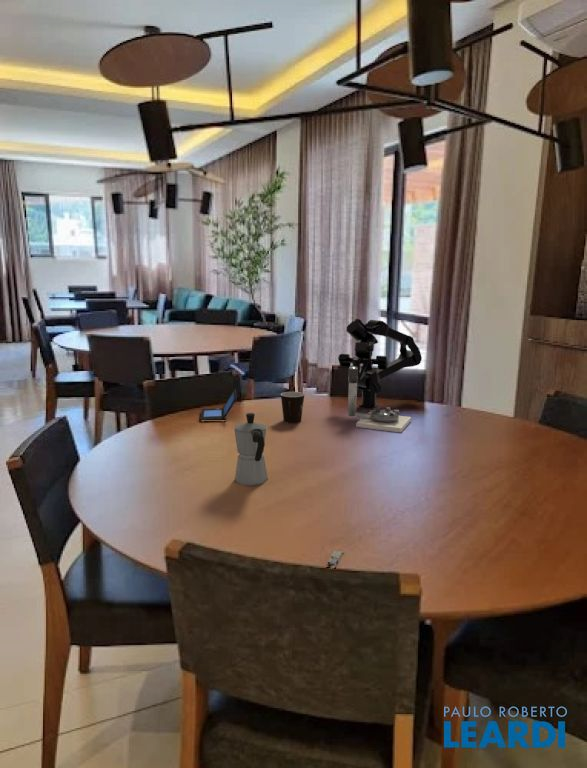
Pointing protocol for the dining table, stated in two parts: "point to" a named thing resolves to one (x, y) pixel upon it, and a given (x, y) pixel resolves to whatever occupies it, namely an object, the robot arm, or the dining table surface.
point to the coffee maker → (250, 452)
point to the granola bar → (334, 558)
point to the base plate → (384, 424)
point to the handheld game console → (219, 410)
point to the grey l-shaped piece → (374, 414)
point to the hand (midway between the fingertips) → (359, 379)
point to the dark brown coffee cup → (292, 406)
